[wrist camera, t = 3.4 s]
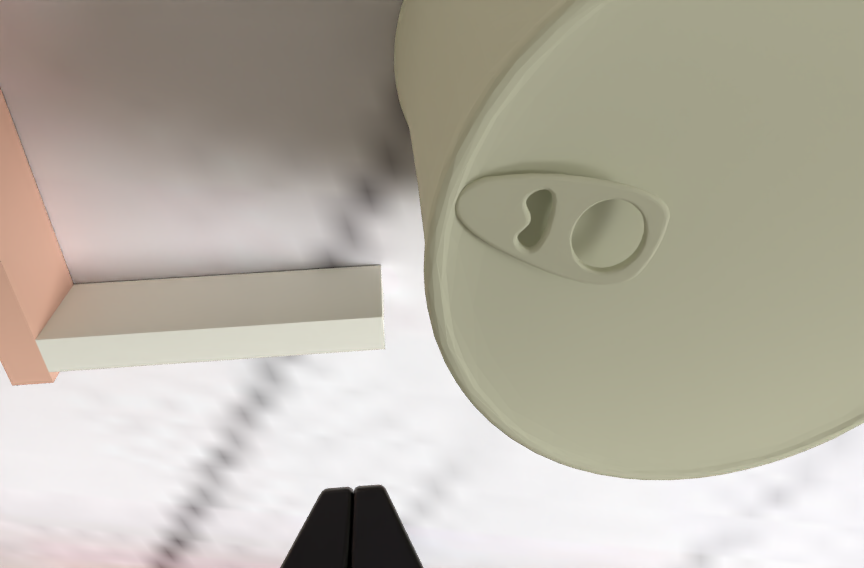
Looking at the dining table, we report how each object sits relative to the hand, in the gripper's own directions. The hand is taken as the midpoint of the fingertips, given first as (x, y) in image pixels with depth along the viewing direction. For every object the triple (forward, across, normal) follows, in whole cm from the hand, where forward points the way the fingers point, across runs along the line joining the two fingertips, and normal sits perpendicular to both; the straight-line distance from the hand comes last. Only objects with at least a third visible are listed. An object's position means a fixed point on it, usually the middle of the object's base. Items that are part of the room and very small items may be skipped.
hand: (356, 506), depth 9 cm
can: (+13, -6, -3) cm, 15 cm away
